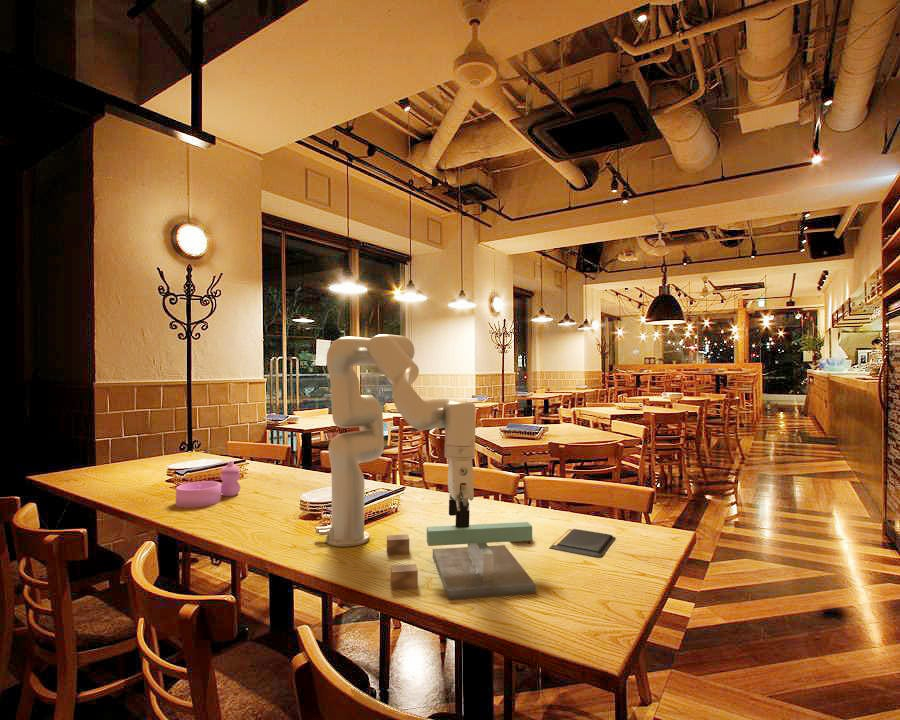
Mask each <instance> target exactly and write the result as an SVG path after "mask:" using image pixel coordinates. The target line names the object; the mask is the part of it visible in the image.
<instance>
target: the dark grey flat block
mask: <svg viewBox="0 0 900 720" xmlns="http://www.w3.org/2000/svg"><path fill="white" fill-rule="evenodd" d="M616 539H617V537H615V536H613V534H608V533H603V532H597V531H592V530H591V531H590V530H586V529H585V530H583V529H578V528H577V529H576V528H573V529H567V530H566V531H565V533H563V534H562V535H561V536H560V537H559V538H558V539H557V540H556V541H555V542H554V543H553V544H552V545H550V547H549V548H548V549H549V550H556V551H559V552H564V553H569V554H573V555H574V554H575V555H579V556H585V557H591V558H596V559H602V558H603V557H604V556H605V554H606V553H607V552H608V550H609V549H610V547H611V546H612V544H613V543H615V541H616Z"/></svg>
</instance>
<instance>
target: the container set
mask: <svg viewBox="0 0 900 720" xmlns="http://www.w3.org/2000/svg"><path fill="white" fill-rule="evenodd" d="M240 478H241V473H240V467H239V465H236V464H234V461H228V462H227V465H225V466H223V467H222V468H221V474H220V479H221V481H222V482H223V483H221V482H219V481H210V480H207V481H206V480H205V481H193V482H187V483H183V484H179V485H178V486H176V488H175V507H178V508H182V509H186V508H187V509H188V508H189V509H192V508H195V509H196V508H201V507H202V508H203V507H208V506H213V505H215V504H218V503H220V502H221V501H222V495H223V496H224V497H234V496H237V495H238V494H239V492H240V490H241V484H240V483H239V480H240Z"/></svg>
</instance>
